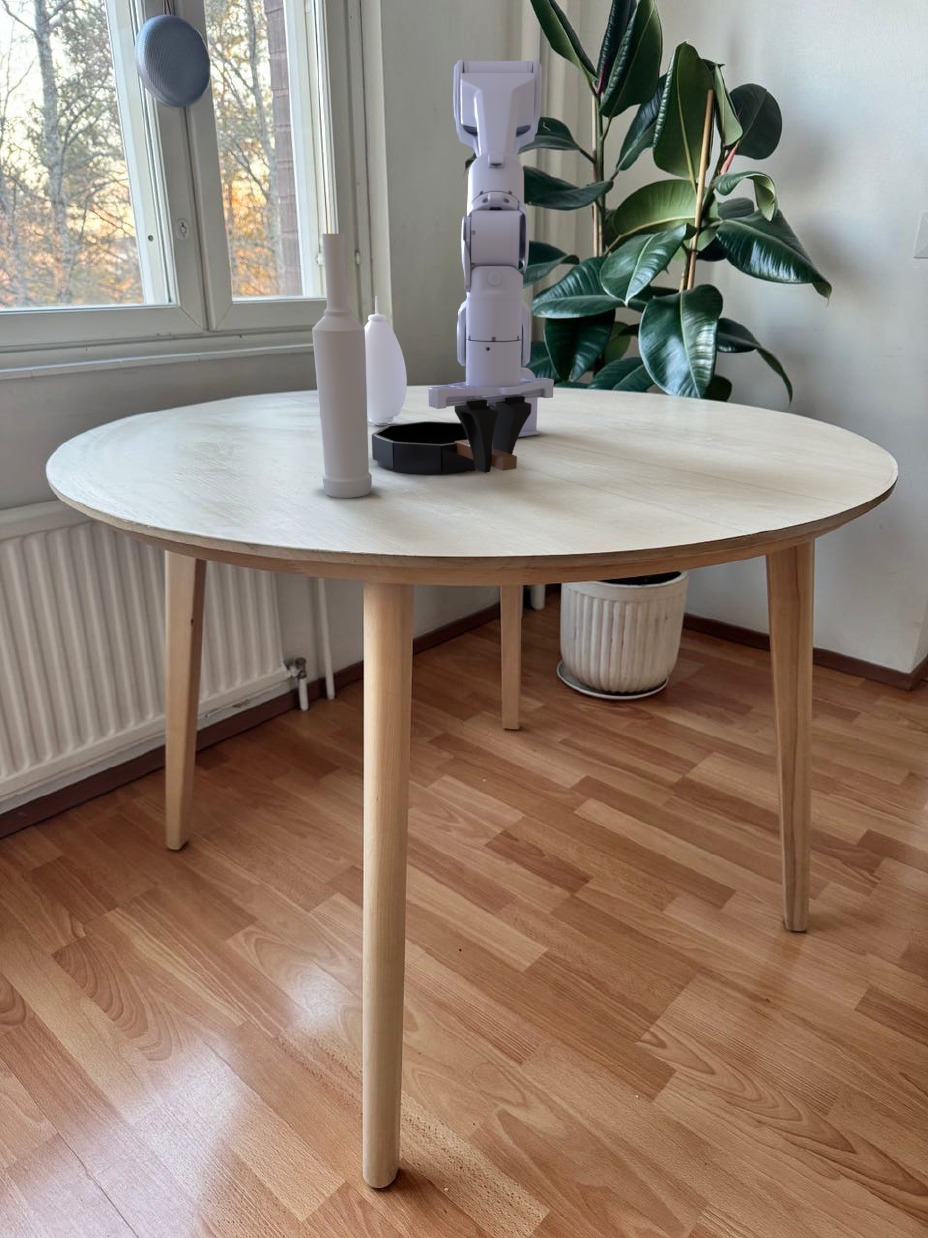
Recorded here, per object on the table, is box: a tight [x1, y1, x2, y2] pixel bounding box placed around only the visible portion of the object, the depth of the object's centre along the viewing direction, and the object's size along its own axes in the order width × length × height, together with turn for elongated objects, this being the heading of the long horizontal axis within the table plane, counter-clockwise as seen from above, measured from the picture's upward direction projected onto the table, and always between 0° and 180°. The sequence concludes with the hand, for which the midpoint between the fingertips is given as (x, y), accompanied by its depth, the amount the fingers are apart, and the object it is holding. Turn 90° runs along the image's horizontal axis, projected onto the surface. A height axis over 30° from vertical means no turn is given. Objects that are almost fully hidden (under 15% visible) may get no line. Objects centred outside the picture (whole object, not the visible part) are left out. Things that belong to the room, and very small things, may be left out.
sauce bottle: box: [364, 294, 408, 426], centre depth 120 cm, size 8×8×18 cm
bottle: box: [311, 233, 373, 499], centre depth 84 cm, size 5×5×25 cm
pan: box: [371, 420, 518, 476], centre depth 97 cm, size 14×24×4 cm, turn 31°
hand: (491, 469), depth 91 cm, fingers closed on pan, 2 cm apart
